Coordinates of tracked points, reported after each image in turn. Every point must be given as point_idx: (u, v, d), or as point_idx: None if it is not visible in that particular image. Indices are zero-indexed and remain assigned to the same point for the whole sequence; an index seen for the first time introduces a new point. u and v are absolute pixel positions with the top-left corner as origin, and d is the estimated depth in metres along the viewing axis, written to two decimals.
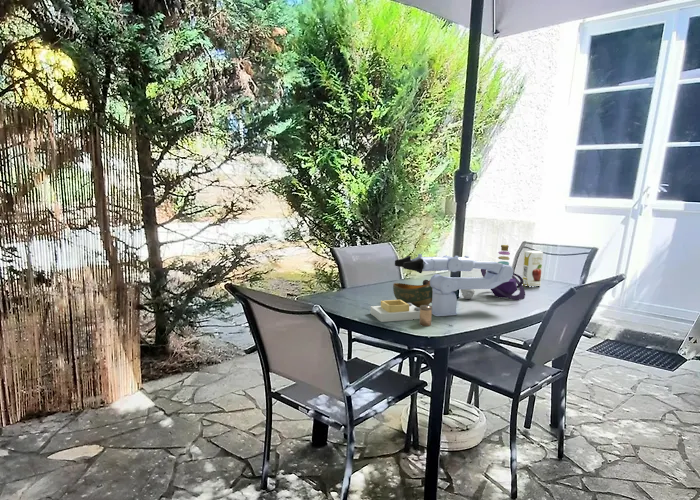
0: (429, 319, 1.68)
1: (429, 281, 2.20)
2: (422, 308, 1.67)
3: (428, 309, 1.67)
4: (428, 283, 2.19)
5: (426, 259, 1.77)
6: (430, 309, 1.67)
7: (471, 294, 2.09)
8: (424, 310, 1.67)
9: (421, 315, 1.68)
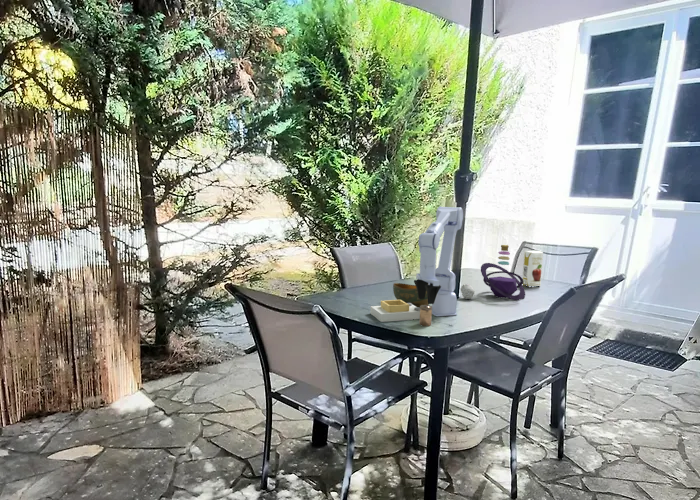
0: (429, 319, 1.68)
1: None
2: (422, 308, 1.67)
3: (428, 309, 1.67)
4: None
5: (424, 273, 1.65)
6: (430, 309, 1.67)
7: (471, 294, 2.09)
8: (424, 310, 1.67)
9: (421, 315, 1.68)
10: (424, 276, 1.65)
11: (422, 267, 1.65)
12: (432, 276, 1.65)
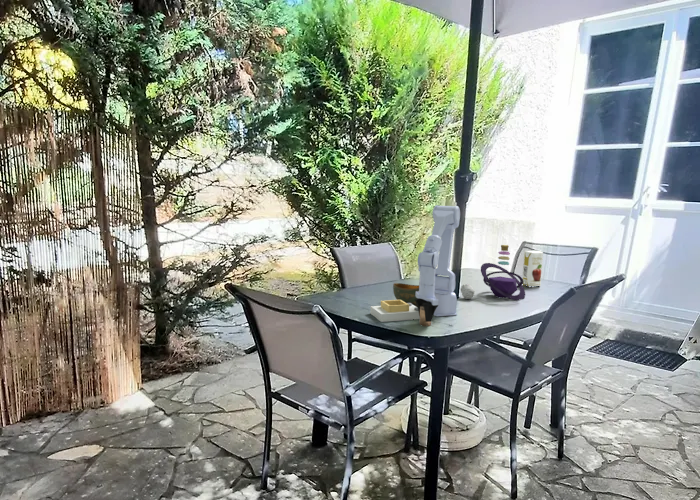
0: None
1: None
2: (422, 308, 1.67)
3: None
4: None
5: (424, 292, 1.66)
6: None
7: (471, 294, 2.09)
8: (424, 310, 1.67)
9: (421, 315, 1.68)
10: (423, 295, 1.66)
11: (421, 286, 1.66)
12: (431, 295, 1.66)
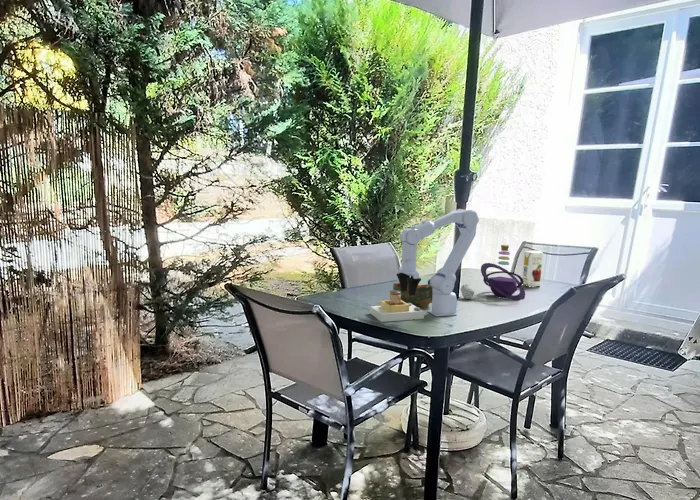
0: (398, 303, 1.77)
1: None
2: (391, 293, 1.77)
3: (397, 294, 1.77)
4: None
5: (406, 267, 1.75)
6: (399, 294, 1.77)
7: (471, 294, 2.09)
8: (393, 295, 1.77)
9: (390, 299, 1.78)
10: (405, 269, 1.75)
11: (403, 261, 1.76)
12: (413, 269, 1.75)
